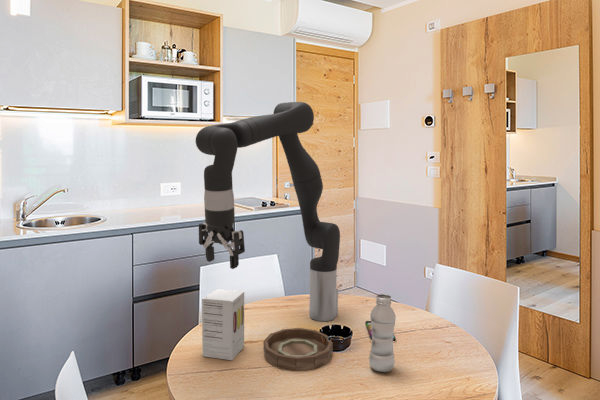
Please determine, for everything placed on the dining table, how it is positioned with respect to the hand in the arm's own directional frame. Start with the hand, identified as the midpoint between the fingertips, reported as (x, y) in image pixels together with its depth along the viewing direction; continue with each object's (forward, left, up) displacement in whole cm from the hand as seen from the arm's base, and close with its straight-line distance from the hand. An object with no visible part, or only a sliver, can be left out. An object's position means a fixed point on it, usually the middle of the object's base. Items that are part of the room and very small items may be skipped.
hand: (222, 264), depth 114 cm
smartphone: (-48, +16, -28) cm, 58 cm away
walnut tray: (-18, +10, -27) cm, 34 cm away
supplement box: (-3, -5, -27) cm, 28 cm away
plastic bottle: (-29, +31, -27) cm, 51 cm away
